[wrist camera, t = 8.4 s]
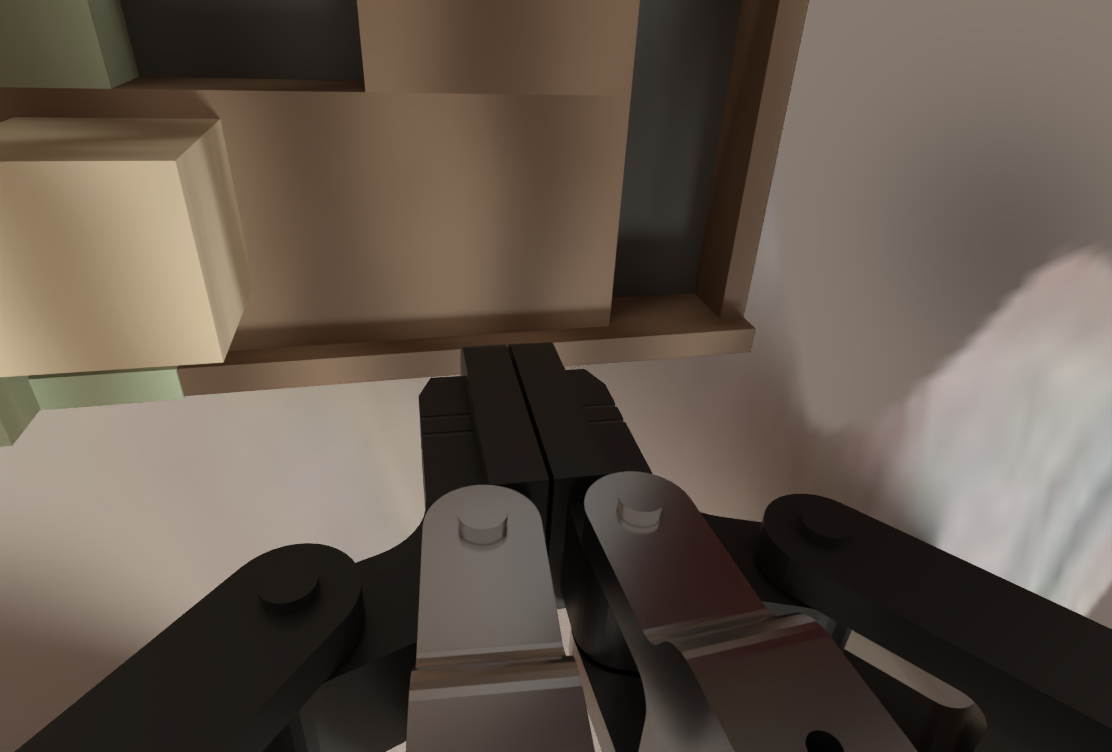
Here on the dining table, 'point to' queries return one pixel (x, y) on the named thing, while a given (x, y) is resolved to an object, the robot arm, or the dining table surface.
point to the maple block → (117, 245)
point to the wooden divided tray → (439, 173)
